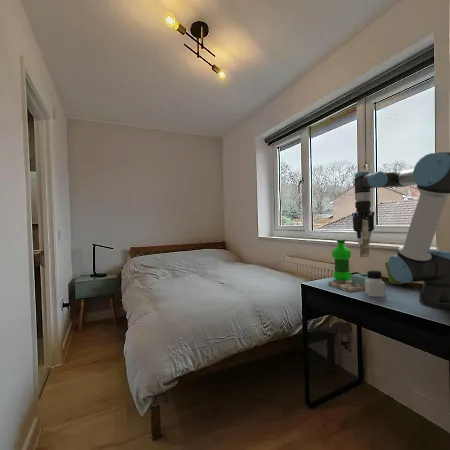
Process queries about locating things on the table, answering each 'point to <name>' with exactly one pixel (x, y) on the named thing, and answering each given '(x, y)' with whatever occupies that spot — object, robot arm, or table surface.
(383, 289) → the medicine bottle
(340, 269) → the plastic bottle
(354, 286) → the tray
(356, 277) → the teal square bowl
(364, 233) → the dowel
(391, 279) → the plant pot
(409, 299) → the table surface
